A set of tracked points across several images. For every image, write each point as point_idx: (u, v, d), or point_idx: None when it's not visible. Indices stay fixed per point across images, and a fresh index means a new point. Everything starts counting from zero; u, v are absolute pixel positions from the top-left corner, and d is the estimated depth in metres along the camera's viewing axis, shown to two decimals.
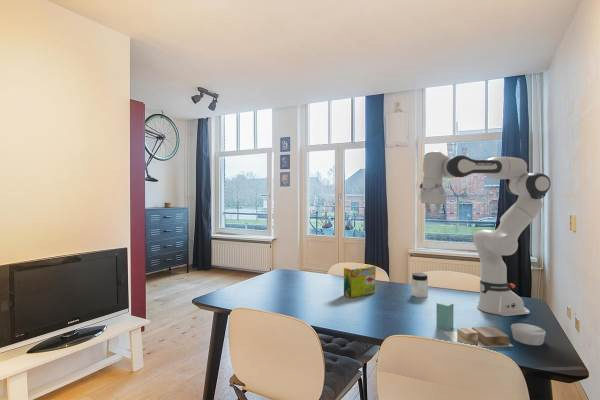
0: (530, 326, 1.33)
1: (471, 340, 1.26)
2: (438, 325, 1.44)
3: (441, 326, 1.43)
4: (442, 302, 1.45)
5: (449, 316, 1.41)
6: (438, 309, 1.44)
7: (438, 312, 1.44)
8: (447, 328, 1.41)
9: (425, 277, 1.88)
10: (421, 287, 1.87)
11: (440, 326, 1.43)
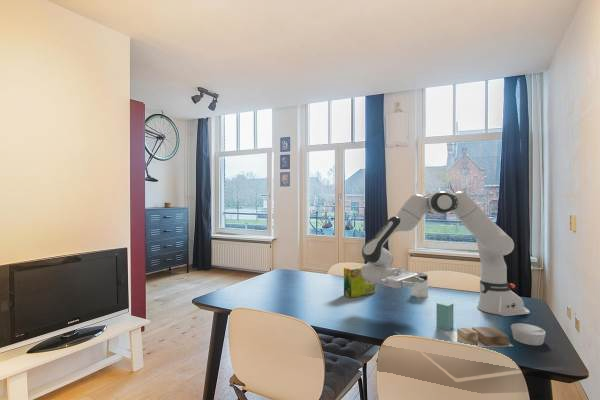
0: (530, 326, 1.33)
1: (471, 340, 1.26)
2: (438, 325, 1.44)
3: (441, 326, 1.43)
4: (442, 302, 1.45)
5: (449, 316, 1.41)
6: (438, 309, 1.44)
7: (438, 312, 1.44)
8: (447, 328, 1.41)
9: (425, 277, 1.88)
10: (421, 287, 1.87)
11: (440, 326, 1.43)
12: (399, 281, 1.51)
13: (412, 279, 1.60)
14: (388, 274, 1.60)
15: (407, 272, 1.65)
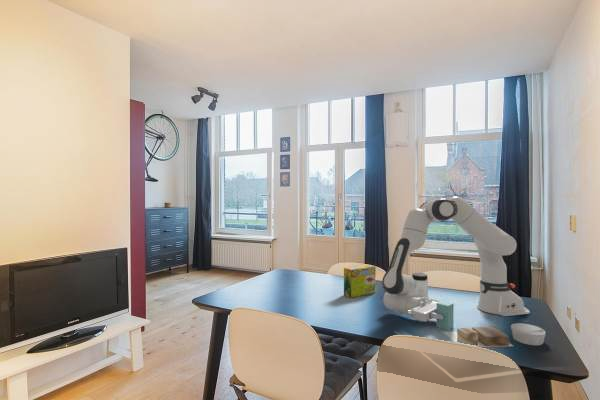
0: (530, 326, 1.33)
1: (471, 340, 1.26)
2: (438, 325, 1.44)
3: (441, 326, 1.43)
4: (442, 302, 1.45)
5: (449, 316, 1.41)
6: (438, 309, 1.44)
7: (438, 312, 1.44)
8: (447, 328, 1.41)
9: (425, 277, 1.88)
10: (421, 287, 1.87)
11: (440, 326, 1.43)
12: (427, 314, 1.42)
13: None
14: (414, 305, 1.50)
15: (433, 301, 1.56)
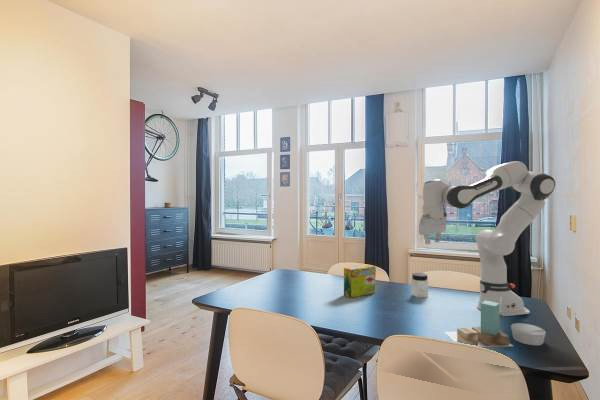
0: (530, 326, 1.33)
1: (471, 340, 1.26)
2: (483, 327, 1.30)
3: (486, 328, 1.29)
4: (487, 302, 1.31)
5: (496, 317, 1.28)
6: (483, 310, 1.30)
7: (483, 313, 1.30)
8: (494, 331, 1.27)
9: (425, 277, 1.88)
10: (421, 287, 1.87)
11: (485, 329, 1.30)
12: (426, 234, 1.54)
13: None
14: (433, 216, 1.56)
15: (443, 221, 1.64)
